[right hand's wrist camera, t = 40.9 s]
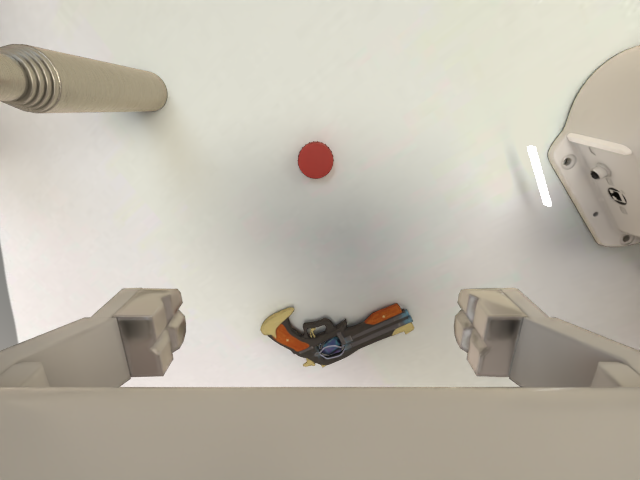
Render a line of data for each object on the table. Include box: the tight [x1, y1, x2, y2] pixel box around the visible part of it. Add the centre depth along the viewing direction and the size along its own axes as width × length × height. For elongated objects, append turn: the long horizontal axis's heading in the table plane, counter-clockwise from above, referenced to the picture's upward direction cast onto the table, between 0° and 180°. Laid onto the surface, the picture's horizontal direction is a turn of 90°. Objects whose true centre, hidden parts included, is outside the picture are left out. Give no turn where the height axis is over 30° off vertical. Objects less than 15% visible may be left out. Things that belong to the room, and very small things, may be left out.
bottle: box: [0, 44, 167, 113], centre depth 28 cm, size 4×4×21 cm
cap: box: [298, 141, 334, 179], centre depth 39 cm, size 4×4×2 cm
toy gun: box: [261, 304, 414, 367], centre depth 47 cm, size 3×19×10 cm
